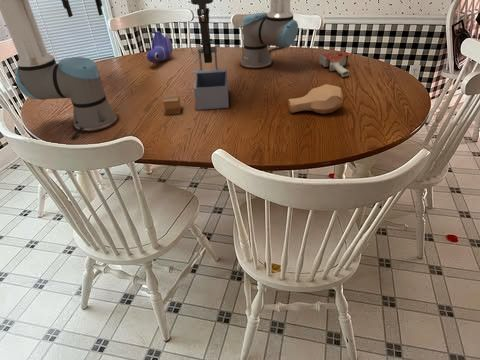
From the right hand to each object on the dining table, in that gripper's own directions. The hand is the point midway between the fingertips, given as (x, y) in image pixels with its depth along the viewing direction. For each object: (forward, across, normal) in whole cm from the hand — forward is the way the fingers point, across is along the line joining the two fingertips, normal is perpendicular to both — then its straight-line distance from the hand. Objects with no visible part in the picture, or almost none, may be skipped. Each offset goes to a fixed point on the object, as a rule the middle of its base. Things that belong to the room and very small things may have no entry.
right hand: (208, 61), depth 131 cm
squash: (+17, -12, -38) cm, 44 cm away
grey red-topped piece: (+17, +30, -56) cm, 66 cm away
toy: (+17, +58, +29) cm, 67 cm away
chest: (+17, +4, 0) cm, 17 cm away
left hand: (-11, +40, +54) cm, 68 cm away
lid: (+6, +4, 0) cm, 7 cm away
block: (+17, -4, +15) cm, 23 cm away
